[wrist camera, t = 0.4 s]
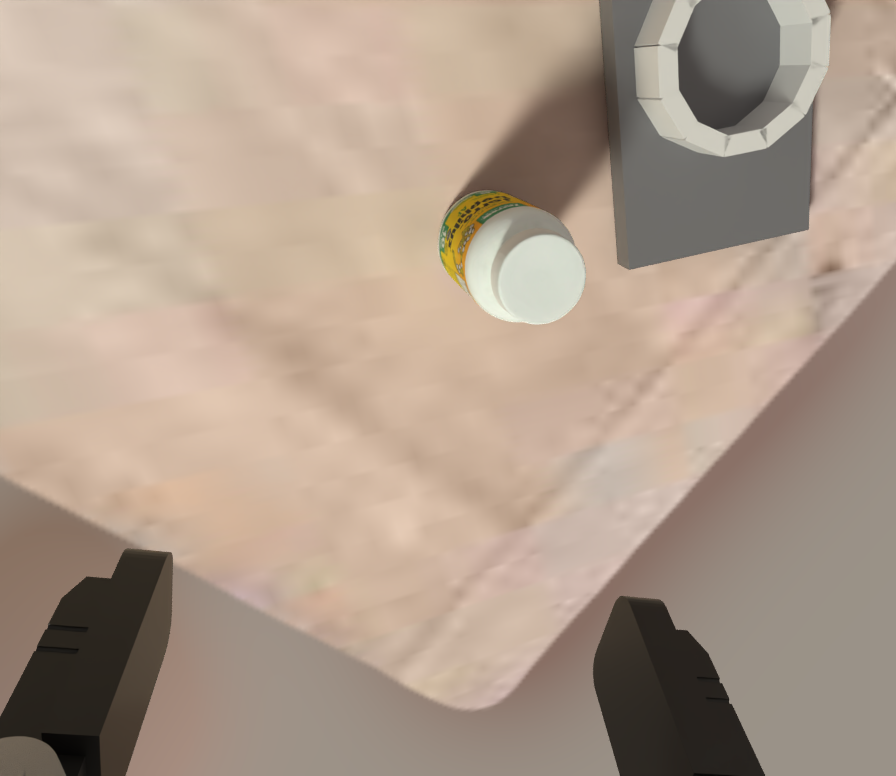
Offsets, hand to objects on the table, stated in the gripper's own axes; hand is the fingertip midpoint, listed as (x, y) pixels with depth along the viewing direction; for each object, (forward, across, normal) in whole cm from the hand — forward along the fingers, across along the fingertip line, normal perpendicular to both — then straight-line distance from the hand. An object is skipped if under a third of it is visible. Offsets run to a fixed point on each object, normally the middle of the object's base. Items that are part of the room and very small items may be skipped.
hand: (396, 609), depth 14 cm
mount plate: (+32, -16, -7) cm, 36 cm away
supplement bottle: (+30, -5, +2) cm, 30 cm away
